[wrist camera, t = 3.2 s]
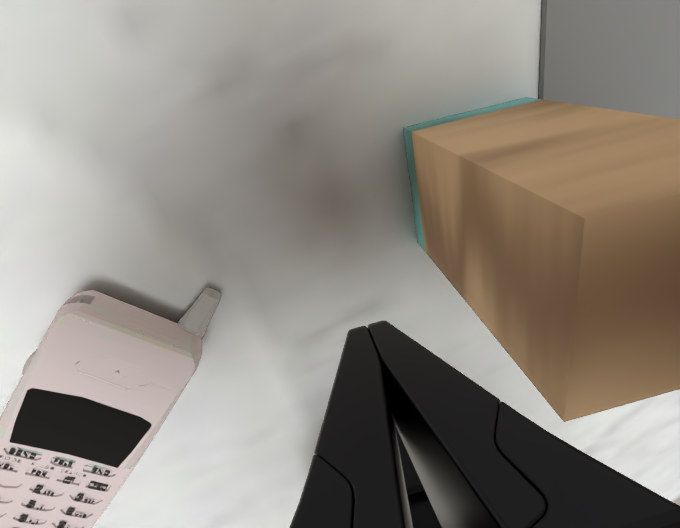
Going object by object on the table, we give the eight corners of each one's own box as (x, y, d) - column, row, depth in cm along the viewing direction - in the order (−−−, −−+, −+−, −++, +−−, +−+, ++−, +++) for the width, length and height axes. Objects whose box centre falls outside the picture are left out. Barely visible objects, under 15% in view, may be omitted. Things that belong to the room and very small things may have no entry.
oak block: (523, 214, 18) (770, 363, 9) (417, 241, 18) (564, 421, 9) (525, 97, 15) (863, 145, 7) (403, 127, 15) (584, 218, 6)
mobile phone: (-166, 721, 18) (12, 320, 10) (-69, 570, 23) (97, 230, 15) (-11, 720, 20) (227, 394, 13) (45, 584, 25) (238, 294, 18)
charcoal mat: (746, 292, 22) (752, 295, 22) (529, 352, 22) (532, 356, 22) (924, -211, 13) (937, -217, 13) (546, -127, 12) (553, -131, 12)
